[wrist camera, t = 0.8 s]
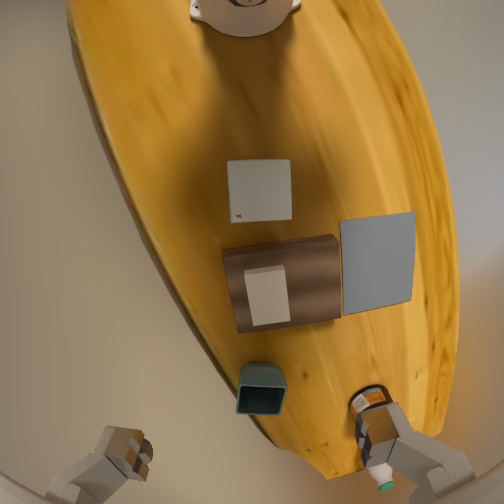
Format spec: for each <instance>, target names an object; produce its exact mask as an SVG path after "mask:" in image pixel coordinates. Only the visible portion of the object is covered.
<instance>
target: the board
mask: <svg viewBox="0 0 504 504" xmlns="http://www.w3.org/2000/svg"><path fill="white" fill-rule="evenodd" d="M222 259H223V264H224V269H225V274H226V279H227V283H228V288H229V293H230V298H231V302H232V307H233V312H234V316H235V321H236V326H237V330H238V333H247V332H255V331H263V330H270V329H277V328H284V327H291V326H297V325H303V324H309V323H315V322H321V321H327V320H332V319H338V318H341V279H340V255H339V241H338V240H337V239H336V238H335V237H334V236H333V235H332V234H328V235H321V236H314V237H308V238H301V239H294V240H287V241H280V242H273V243H266V244H260V245H253V246H246V247H239V248H232V249H226V250H224V254H223V257H222ZM277 265H283V266H284V269H285V277H286V286H287V294H288V303H289V312H290V321H285V322H279V323H271V324H264V325H257V326H253V321H252V316H251V310H250V305H249V300H248V294H247V289H246V283H245V278H244V270H250V269H256V268H263V267H270V266H277Z"/></svg>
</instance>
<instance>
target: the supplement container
mask: <svg viewBox="0 0 504 504" xmlns="http://www.w3.org/2000/svg"><path fill="white" fill-rule="evenodd" d="M390 403H393V400H392V398H391V396H390V394H389V392H388V389H387V388H386V387H385V386H383V385H379V384H375V385H370V386H367V387H364V388H362V389H361V390H359V391H358V392H357V393H355V394H354V395H353V397H352V398H351V400H350V403H349V407H350V410H351V413H352V416H353V419H354V422H355V425H356V424H357V423H358V421H357V414H358V412H362V411H365V410H369V409H372V408H376V407H379V406H382V405H383V406H384V405H387V404H390Z"/></svg>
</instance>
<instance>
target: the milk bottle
mask: <svg viewBox="0 0 504 504" xmlns="http://www.w3.org/2000/svg"><path fill="white" fill-rule="evenodd" d="M361 451H362V449H361ZM392 469H393V468H391V467H390V466H389V465H387V464H386V463H384V464H381V465H377V466H374V467H370V468H367V470H368V472H369V474H370V475H371V476H372V477H373V478H374V479H375V480H376V481H377V483H378V487H379V491H380V492H383V491H387V490H389V489H391V488H393V487H394V486H395V483H394V481H393V479H392Z"/></svg>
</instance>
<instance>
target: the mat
mask: <svg viewBox="0 0 504 504" xmlns="http://www.w3.org/2000/svg"><path fill="white" fill-rule="evenodd" d="M340 235H341V252H342V278H343V315H346V314H351V313H356V312H361V311H366V310H371V309H375V308H380V307H384V306H389V305H393V304H397V303H402V302H406V301H410V300H411V296H412V286H413V274H414V259H415V212H408V213H400V214H392V215H384V216H376V217H368V218H360V219H353V220H345V221H340Z"/></svg>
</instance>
